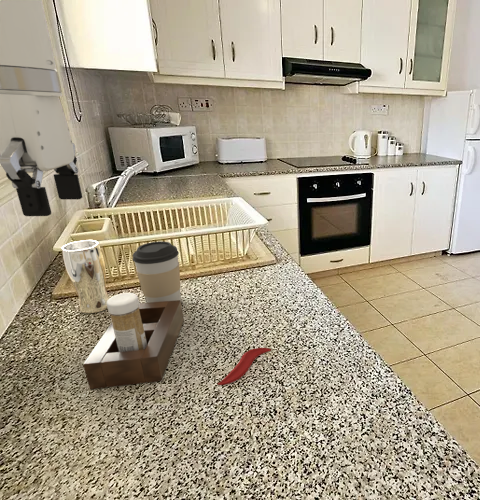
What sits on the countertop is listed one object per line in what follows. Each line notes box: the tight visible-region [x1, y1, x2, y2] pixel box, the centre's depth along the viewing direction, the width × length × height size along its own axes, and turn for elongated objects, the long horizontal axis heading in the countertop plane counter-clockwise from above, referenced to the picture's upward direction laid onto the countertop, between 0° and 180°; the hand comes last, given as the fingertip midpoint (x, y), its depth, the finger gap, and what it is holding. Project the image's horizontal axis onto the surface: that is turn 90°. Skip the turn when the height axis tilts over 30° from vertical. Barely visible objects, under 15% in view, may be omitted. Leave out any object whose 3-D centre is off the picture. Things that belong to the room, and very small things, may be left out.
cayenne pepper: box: [217, 347, 272, 386], centre depth 67 cm, size 12×5×2 cm, turn 139°
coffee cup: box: [132, 240, 182, 303], centre depth 83 cm, size 9×9×15 cm
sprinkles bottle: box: [107, 292, 147, 352], centre depth 64 cm, size 5×5×14 cm
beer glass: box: [61, 239, 110, 315], centre depth 82 cm, size 7×7×15 cm
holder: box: [82, 299, 185, 390], centre depth 70 cm, size 11×19×5 cm, turn 12°
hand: (55, 206), depth 57 cm, fingers open, 9 cm apart
